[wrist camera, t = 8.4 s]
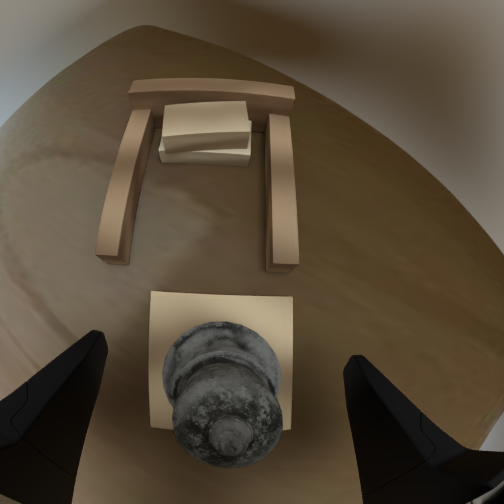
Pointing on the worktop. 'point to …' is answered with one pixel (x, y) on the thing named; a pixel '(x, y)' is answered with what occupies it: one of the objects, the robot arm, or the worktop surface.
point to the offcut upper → (205, 126)
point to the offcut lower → (209, 156)
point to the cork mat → (217, 310)
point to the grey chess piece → (224, 394)
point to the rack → (151, 116)
